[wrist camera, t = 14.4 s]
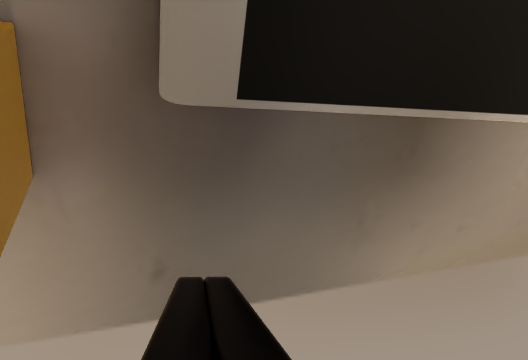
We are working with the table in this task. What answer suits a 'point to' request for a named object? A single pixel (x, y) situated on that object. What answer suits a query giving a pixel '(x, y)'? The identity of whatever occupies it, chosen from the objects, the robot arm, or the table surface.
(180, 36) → the smartphone
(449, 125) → the table surface
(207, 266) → the table surface
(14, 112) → the block
